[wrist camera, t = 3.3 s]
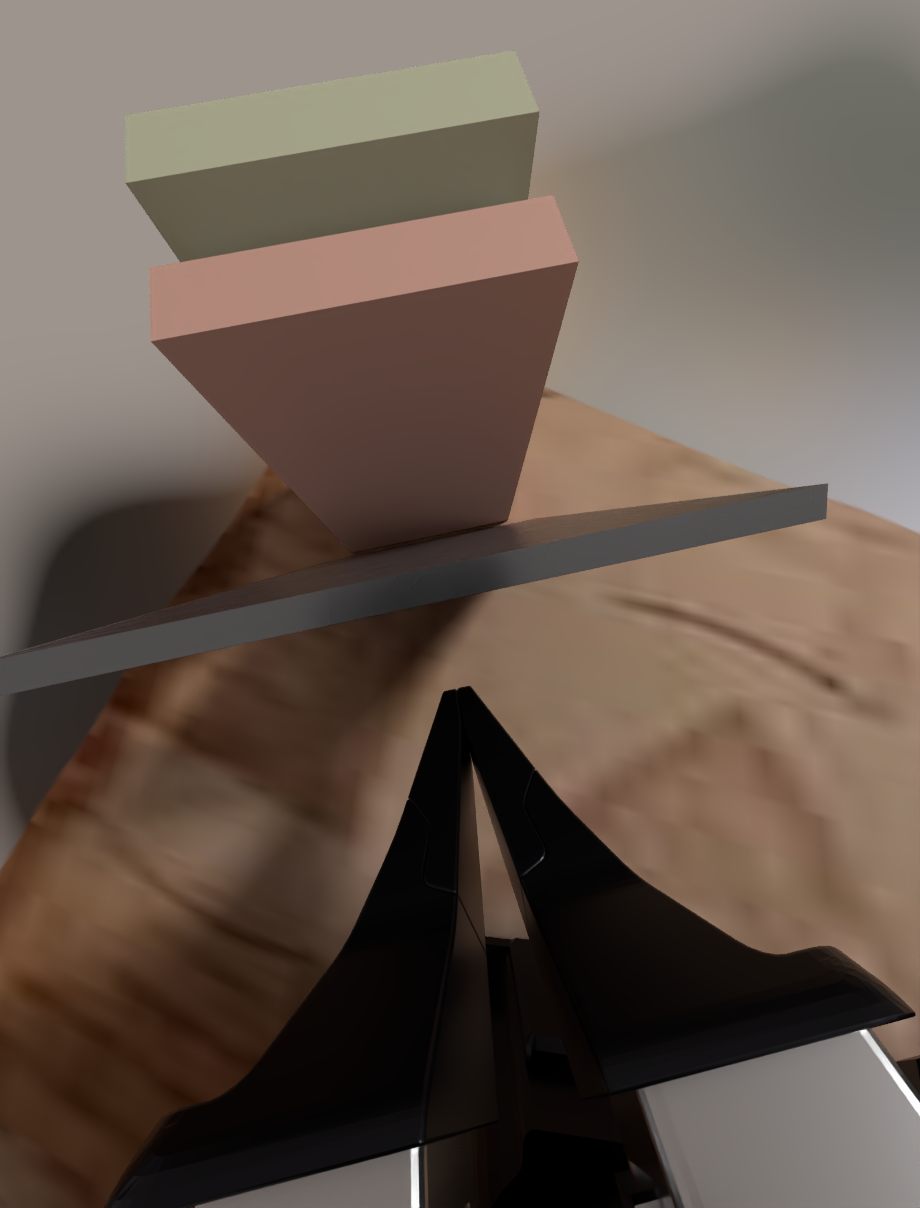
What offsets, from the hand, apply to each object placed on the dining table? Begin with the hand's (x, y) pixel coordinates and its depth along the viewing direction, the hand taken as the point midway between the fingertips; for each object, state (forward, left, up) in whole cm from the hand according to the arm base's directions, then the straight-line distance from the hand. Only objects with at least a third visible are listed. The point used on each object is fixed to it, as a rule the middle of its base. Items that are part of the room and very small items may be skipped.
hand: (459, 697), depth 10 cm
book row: (+11, +4, -7) cm, 13 cm away
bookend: (+7, +2, -7) cm, 10 cm away
